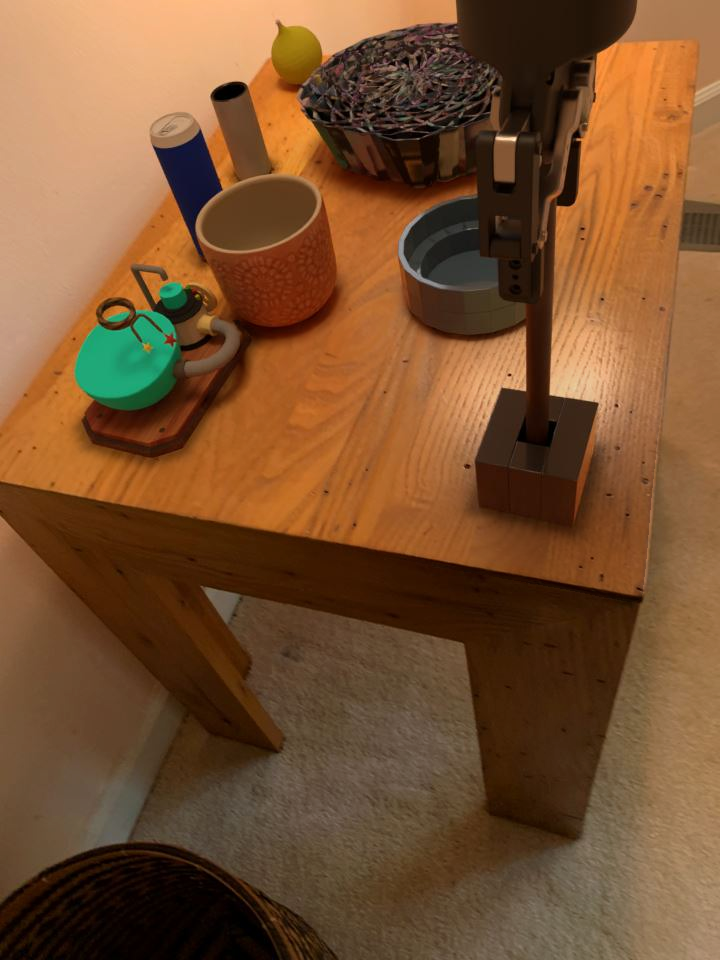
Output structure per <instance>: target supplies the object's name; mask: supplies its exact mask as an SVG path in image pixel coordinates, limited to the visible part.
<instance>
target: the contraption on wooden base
mask: <svg viewBox="0 0 720 960" xmlns="http://www.w3.org/2000/svg"><path fill="white" fill-rule="evenodd" d="M130 271H131V273H132V275H133V277H134V279H135V281H136V283H137V285H138V286H139V289H140V290H141V292H142V294H143V296H144V298H145V300H146V301H147V304H148V305H149V307H150V310H149V309H148V310H147V309H137V310H136V307H135V304H134V303H133V302H132V300H130V299H128V298H126V297H121V296H113V297H109V298H107V299H105V300H103V301H101V303H99V304H98V306H97V307H96V309H95V315H96V319H97V323H98V324H97V325H95V326H94V327H93V328H92V330H91V331H90V332H89V333H88V335H87V336H86V337H85V339H84V341H83V342H82V344H81V346H80V349H79V351H78V354H77V357H76V361H75V364H74V380H75V382H76V384H77V386H78V387H79V388H80V389H81V391H83V392H84V394H86V395H87V396H88V397H90V398H91V399H93V400H92V402H91V403H90V405H88V407H87V409H86V410H85V411H84V416H83V418H81V422H82V423H81V424H82V425H83V427H84V430H85V432H86V433H87V436H88V438H89V440H90V441H91V443H92V444H95V445H99V446H102V447H103V446H104V447H108V448H111V449H116V450H119V451H124V452H128V453H132V454H135V455H136V454H137V455H140V456H143V457H148V458H155V457H158V456H161V455H165V454H168V453H170V452H173V451H176V450H179V449H182V448H184V447H185V445H186V443H187V441H188V440H189V439H190V437H191V436H192V434H193V432H194V431H195V429H196V428H197V426H198V425H199V423H200V421H201V420H202V419H203V417H204V415H205V414H206V412H207V410H208V409H209V408H210V406H211V405H212V403H213V401H214V399H215V398H216V397H217V395H218V394H219V392H220V390H221V388H222V387H223V386H224V384H225V382H226V381H227V379H228V378H229V376H230V374H231V373H232V371H233V370H234V368H235V367H236V365H237V363H239V361H240V359H241V357H242V356H243V354H244V353H245V351H246V350H247V348H248V347H249V345H250V343H251V342H252V337H251V335H250V334H249V332H248V331H247V329H246V328H245V327H244V325H242V323H241V322H240V320H239V319H232V318H228V317H227V318H226V317H221V316H217V315H210V314H209V313H212V312H214V311H215V310H216V308H217V307H218V300H217V297H216V295H215V294H214V292H212V290H211V289H209V288H208V287H207V286H205V285H204V284H202V283H200V282H196V281H190V282H188V283H187V284H186V285H185V286H184V287H183V284H182V283H180V282H175V281H172V282H168V283H166V284H163V286H161V287H160V288H159V289H158V290H159V291H158V296H159V298H160V299H159V300H158V301H157V302H156V300H155V299H154V297H153V295H152V293H151V291H150V290H149V288H148V286H147V284H146V282H145V280H144V277H143V276H142V274H141V273H142V272H143V273H151V274H158V275H159V277H160V278H161V281H163V282H167V281H168V280H169V276H168V273H167V272H166V270H165V268H163V267H162V266H155V265H150V264H141V263H132V264H131V265H130ZM112 307H124V308H125V309H128V310H129V311H125V312H121V313H118V314H117V313H116V314H114V315H111V316H109V317H108V318H106V319H105V318H104V316H103V315H104V313H105V312H106V311H107V310H109V309H110V308H112Z"/></svg>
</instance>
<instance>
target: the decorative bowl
mask: <svg viewBox="0 0 720 960" xmlns="http://www.w3.org/2000/svg"><path fill="white" fill-rule="evenodd" d="M502 80H503V79H502V77H501V74H500V73H499V72H498V71H497V70H496V69H495V68H493V67H492V66H491V65H489V64H488V63H486V62H484V61H482V60H479V59H477V58H475V57H474V56H472V55H471V54H470V53H469V52H468V51H467V50H466V49H465V48H464V47H463V45H462V43H461V41H460V39H459V35H458V27H457V21H456V22H455V21H454V22H428V23H419V24H418V23H417V24H414V25H410V26H406V27H402V28H397V29H393V30H389V31H386V32H383V33H379V34H376V35H373V36H369V37H366V38H362V39H361V40H359V41H357V42H355V43H353V44H352V45H350V46H348V47H345V48H343V49H341V50H339V51H337V52H335V53H333V54H332V55H331V56H330V57H328V59H327V60H325V61H324V62H322V64H321V65H320V66H319V67H318V68H317V69H315V70H314V71H313V72H312V73H311V76H310V78H309V79H308V80H307V81H305V82H304V83H303V84H300V86H299V89H298V92H297V94H296V100H297V101H298V103H299V104H300V105H301V106H300V111H301V113H302V114H303V115H304V116H305V118H306V119H307V120H308V121H310V122H311V123H312V125H313V126H314V128H315V130H316V131H317V133H318V134H319V136H320V137H321V139H322V140H323V142H324V143H325V145H326V147H327V148H328V150H329V151H330V153H331V154H332V156H333V158H334V159H335V161H336V162H337V164H338V165H339V166H340V168H341V169H343V170H346V171H351V172H353V173H354V174H355V175H361V176H369V177H370V178H371V179H372V180H374V181H378V182H390V181H392V182H394V183H398V184H406V185H408V186H410V187H412V188H413V189H426V188H429V187H432V186H433V185H435V183H437V182H440V183H447V182H451V181H452V180H454V179H458V178H465V177H466V178H467V177H472V176H473V175H475V174H477V168H476V152H475V142H476V139H477V138H478V134H479V132H480V130H493V126H492V125H491V123H490V112H491V104H492V97H493V92H494V89H495V88H496V87H501V83H502Z"/></svg>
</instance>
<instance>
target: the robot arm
mask: <svg viewBox="0 0 720 960" xmlns="http://www.w3.org/2000/svg"><path fill="white" fill-rule="evenodd" d="M637 8H638V0H455V9H456V11H455V12H456V22H457V27H458V35H459V39H460V41H461V43H462V45H463V47H464V48H465V49H466V50H467V51H468V52H469V53H470V54H471V55H472V56H474V57H475V58H477V59H479V60H482V61H484V62H486V63H488V64H489V65H491V66H492V67H493V68H495V69H496V70H497V71H498V72H499V73H500V74H501V77H502V79H503V80H502V83H501V87H496V88H495V89H494V92H493V97H492V104H491V112H490V123H491V125H492V126H493V130H480V132H479V134H478V138H477V139H476V142H475V152H476V168H477V172H476V188H477V189H476V192H477V193H476V194H477V196H478V224H479V251H480V256H481V257H487V258H497V260H498V288H499V296H500V297H501V298H502V299H503V300H505V301H510V302H519V303H527V304H535V303H537V302H538V301H539V300H540V297H541V295H542V292H543V278H544V242H546V239H547V231H546V228H547V221H548V215H549V208H550V202H551V200H552V199H553V198H555V197H557V206H556V207H564V208H565V207H566V208H568V207H572V206H573V205H574V204H575V203H576V201H577V198H578V195H579V187H580V185H579V184H580V171H581V170H580V169H581V155H582V140H584V138H585V136H586V132H588V130H589V126H590V125H589V123H590V117H591V113H592V109H593V104H594V103H596V99H597V92H596V79H597V77H596V76H597V62H598V54H600V53H601V52H604V51H605V50H607V49H608V48H610V47H611V46H613V45H614V44H616V43H617V42H618V41H619V40H620V39H621V38H622V37H623V36H625V34H626V33H627V32H628V30H629V29H630V28H631V26H632V24H633V22H634V21H635V17H636V14H637ZM577 139H579V140H577ZM508 217H516V218H518V219H519V220H520V221H517V220H507V219H508Z"/></svg>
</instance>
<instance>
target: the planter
mask: <svg viewBox="0 0 720 960" xmlns="http://www.w3.org/2000/svg"><path fill="white" fill-rule="evenodd" d="M195 230H196V235H197V239H198V242H199V244H200V247H201V249H202V251H203V254H204V256H205V258H206V259H205V260H206V262H207V264H208V267H209V269H210V271H211V273H212V275H213V277H214V279H215V281H216V283H217V285H218V287H219V290H220V292H221V294H222V296H223V298H224V299H225V301H226V302H227V304H228V305H229V307H230V309H232V311H233V312H234V313H235V314H237V315H238V316H239V318H242V319H243V320H245V321H247V322H249V323H251V324H254V325H256V326H261V327H267V328H268V327H269V328H281V327H287V326H292V325H296V324H299V323H300V322H303V321H305V320H307V319H309V318H311V317H312V316H313V315H315V314H316V313H317V312H318V311H319V310H320V309H322V308H323V306H324V305H326V304H327V301H329V299H330V297H331V295H332V293H333V292H334V288H335V286H336V282H337V276H338V274H337V273H338V268H337V267H338V266H337V258H336V253H335V248H334V243H333V239H332V234H331V228H330V223H329V218H328V213H327V208H326V204H325V201H324V197H323V195H322V193H321V191H320V189H319V187H318V186H317V185H316V184H315V183H314V182H313V181H311V180H310V179H308V178H305V177H303V176H300V175H296V174H291V173H269V174H267V175H261V176H256V177H252V178H249V179H246V180H243V181H241V180H240V181H237V182H236V183H234V184H231V185H230V186H227V187H226V188H223V190H222V191H221V192H219V193H218V194H217V195H215V196H214V197H213V198H212V199H211V200H209V201H208V202H207V203H206V205H205V206H204V207H203V208H202V210H201V211H200V213H199V215H198V217H197V220H196V225H195Z"/></svg>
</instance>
